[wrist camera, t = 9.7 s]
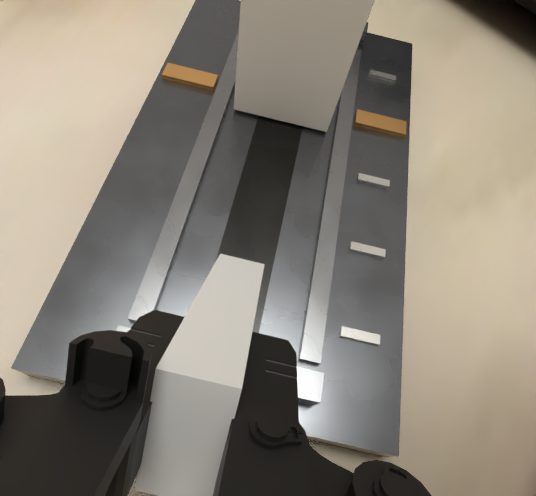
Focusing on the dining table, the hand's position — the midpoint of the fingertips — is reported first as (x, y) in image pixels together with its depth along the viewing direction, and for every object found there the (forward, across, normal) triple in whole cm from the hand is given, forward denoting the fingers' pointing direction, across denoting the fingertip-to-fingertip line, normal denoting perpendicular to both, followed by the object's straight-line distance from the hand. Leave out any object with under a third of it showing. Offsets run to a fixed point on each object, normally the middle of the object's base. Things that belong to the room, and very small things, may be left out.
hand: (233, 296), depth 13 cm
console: (+9, 0, -3) cm, 10 cm away
